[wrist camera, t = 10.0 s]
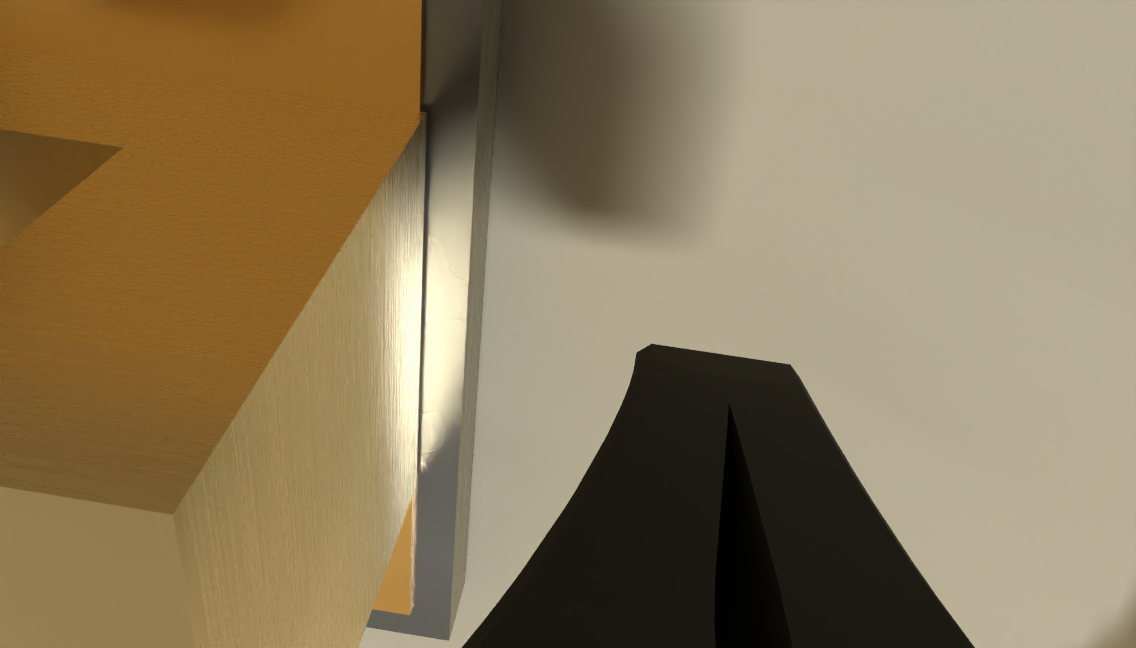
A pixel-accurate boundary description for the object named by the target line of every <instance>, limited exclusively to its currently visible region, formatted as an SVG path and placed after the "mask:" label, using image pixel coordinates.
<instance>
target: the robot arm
mask: <svg viewBox="0 0 1136 648" xmlns="http://www.w3.org/2000/svg"><path fill="white" fill-rule="evenodd" d="M462 648H975V647H974V646H973V645H972V643H971V642H970V641H969V639H968V638H967V637H966V635H965V634H964V633H963V631H962V630H961V628H960V627H959V626H958V624H957V623H956V622H955V620H954V619H953V618H952V616H951V615H950V614H949V612H948V611H947V610H946V608H945V607H944V606H943V604H942V603H941V602H940V600H939V599H938V597H937V596H936V595H935V593H934V592H933V590H932V589H931V587H930V586H929V585H928V583H927V582H926V580H925V579H924V577H923V576H922V575H921V573H920V572H919V570H918V569H917V567H916V566H915V565H914V563H913V562H912V560H911V559H910V557H909V556H908V554H907V553H906V551H905V550H904V548H903V547H902V545H901V544H900V542H899V541H898V539H897V538H896V536H895V535H894V533H893V531H892V530H891V528H890V527H889V525H888V524H887V522H886V521H885V519H884V518H883V516H882V515H881V513H880V512H879V510H878V509H877V507H876V506H875V504H874V503H873V501H872V500H871V498H870V496H869V495H868V493H867V492H866V490H865V488H864V487H863V485H862V484H861V482H860V480H859V479H858V477H857V476H856V474H855V472H854V471H853V469H852V467H851V466H850V464H849V462H848V461H847V459H846V457H845V456H844V454H843V452H842V451H841V449H840V447H839V446H838V444H837V442H836V441H835V439H834V437H833V435H832V434H831V432H830V430H829V429H828V427H827V425H826V423H825V422H824V420H823V418H822V416H821V415H820V413H819V411H818V409H817V408H816V406H815V404H814V402H813V401H812V399H811V397H810V395H809V393H808V392H807V390H806V388H805V386H804V385H803V383H802V381H801V379H800V377H799V376H798V375H797V373H796V372H795V370H794V369H793V368H792V366H791V365H789V364H783V363H776V362H769V361H763V360H756V359H749V358H743V357H736V356H729V355H723V354H716V353H709V352H703V351H696V350H689V349H683V348H676V347H669V346H662V345H656V344H651V345H649V346H647V347H645V348H644V349H642V350H640V351H639V352H637V354H636V360H635V366H634V371H633V375H632V378H631V381H630V385H629V387H628V390H627V393H626V395H625V398H624V400H623V402H622V405H621V407H620V409H619V411H618V414H617V416H616V418H615V420H614V422H613V424H612V426H611V428H610V430H609V432H608V435H607V436H606V438H605V440H604V442H603V444H602V445H601V447H600V449H599V451H598V452H597V454H596V456H595V458H594V460H593V461H592V463H591V465H590V467H589V468H588V470H587V472H586V474H585V475H584V477H583V479H582V481H581V482H580V484H579V486H578V488H577V489H576V491H575V493H574V494H573V496H572V498H571V499H570V501H569V502H568V504H567V505H566V507H565V508H564V510H563V511H562V513H561V514H560V516H559V517H558V519H557V520H556V522H555V523H554V525H553V526H552V528H551V529H550V530H549V532H548V533H547V535H546V536H545V538H544V539H543V541H542V542H541V544H540V545H539V547H538V548H537V550H536V551H535V552H534V554H533V555H532V557H531V558H530V560H529V561H528V563H527V564H526V566H525V567H524V569H523V570H522V571H521V573H520V574H519V575H518V577H517V578H516V579H515V581H514V582H513V583H512V585H511V586H510V587H509V589H508V590H507V591H506V593H505V594H504V595H503V597H502V598H501V599H500V601H499V602H498V603H497V605H496V606H495V607H494V608H493V610H492V611H491V612H490V613H489V615H488V616H487V617H486V619H485V620H484V621H483V622H482V624H481V625H480V626H479V627H478V629H477V630H476V631H475V632H474V633H473V635H472V636H471V637H470V638H469V639H468V641H467V642H466V643H465V644H464V645H463V647H462Z"/></svg>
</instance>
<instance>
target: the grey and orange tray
mask: <svg viewBox="0 0 1136 648" xmlns="http://www.w3.org/2000/svg"><path fill="white" fill-rule="evenodd" d="M501 13H502V0H0V50H7V51H14V52H21V53H27V54H34V55H41V56H48V57H54V58H61V59H68V60H75V61H81V62H88V63H95V64H102V65H108V66H115V67H122V68H129V69H135V70H142V71H149V72H156V73H162V74H169V75H176V76H183V77H189V78H196V79H203V80H210V81H216V82H223V83H230V84H237V85H243V86H250V87H257V88H264V89H271V90H277V91H284V92H291V93H298V94H304V95H311V96H318V97H325V98H331V99H338V100H345V101H352V102H358V103H365V104H372V105H379V106H385V107H392V108H399V109H406V110H412V111H419V112H426V113H427V121H426V156H425V192H424V228H423V264H422V300H421V336H420V372H419V408H418V444H417V479H416V487H415V490H414V493H413V496H412V499H411V501H410V504H409V507H408V510H407V513H406V516H405V518H404V521H403V524H402V527H401V530H400V532H399V535H398V538H397V541H396V544H395V546H394V549H393V552H392V555H391V558H390V560H389V563H388V566H387V569H386V572H385V575H384V577H383V580H382V583H381V586H380V589H379V591H378V594H377V597H376V600H375V603H374V605H373V608H372V611H371V614H370V617H369V620H368V622H367V625H366V627H370V628H376V629H382V630H388V631H394V632H400V633H406V634H412V635H418V636H424V637H430V638H436V639H442V640H448V641H449V640H450V636H451V632H452V628H453V624H454V621H455V617H456V613H457V609H458V606H459V602H460V598H461V594H462V591H463V587H464V583H465V571H466V556H467V540H468V525H469V509H470V494H471V478H472V462H473V447H474V431H475V416H476V400H477V385H478V369H479V354H480V338H481V323H482V307H483V292H484V276H485V261H486V245H487V230H488V214H489V199H490V183H491V168H492V152H493V137H494V121H495V106H496V90H497V75H498V59H499V44H500V28H501Z"/></svg>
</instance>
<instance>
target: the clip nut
mask: <svg viewBox="0 0 1136 648" xmlns="http://www.w3.org/2000/svg"><path fill="white" fill-rule="evenodd" d="M426 121H427V113H426V112H419V111H412V110H406V109H399V108H392V107H385V106H379V105H372V104H365V103H358V102H352V101H345V100H338V99H331V98H325V97H318V96H311V95H304V94H298V93H291V92H284V91H277V90H271V89H264V88H257V87H250V86H243V85H237V84H230V83H223V82H216V81H210V80H203V79H196V78H189V77H183V76H176V75H169V74H162V73H156V72H149V71H142V70H135V69H129V68H122V67H115V66H108V65H102V64H95V63H88V62H81V61H75V60H68V59H61V58H54V57H48V56H41V55H34V54H27V53H21V52H14V51H7V50H0V648H359V645H360V642H361V639H362V636H363V634H364V631H365V628H366V625H367V622H368V620H369V617H370V614H371V611H372V608H373V605H374V603H375V600H376V597H377V594H378V591H379V589H380V586H381V583H382V580H383V577H384V575H385V572H386V569H387V566H388V563H389V560H390V558H391V555H392V552H393V549H394V546H395V544H396V541H397V538H398V535H399V532H400V530H401V527H402V524H403V521H404V518H405V516H406V513H407V510H408V507H409V504H410V501H411V499H412V496H413V493H414V490H415V487H416V479H417V444H418V408H419V372H420V336H421V300H422V264H423V228H424V192H425V156H426Z"/></svg>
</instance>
